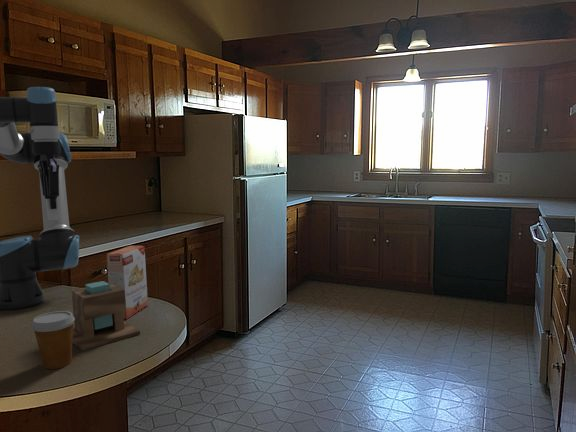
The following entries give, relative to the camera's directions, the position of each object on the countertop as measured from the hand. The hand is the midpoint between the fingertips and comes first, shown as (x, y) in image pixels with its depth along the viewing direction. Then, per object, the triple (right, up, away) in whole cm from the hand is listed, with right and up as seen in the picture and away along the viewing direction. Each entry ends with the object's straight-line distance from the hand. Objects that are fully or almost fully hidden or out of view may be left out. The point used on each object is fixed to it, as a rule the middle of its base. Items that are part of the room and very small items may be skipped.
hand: (53, 219), depth 144 cm
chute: (+18, -33, -9) cm, 39 cm away
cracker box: (+20, -30, +10) cm, 38 cm away
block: (+18, -30, -9) cm, 36 cm away
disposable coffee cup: (+15, -35, -28) cm, 47 cm away
